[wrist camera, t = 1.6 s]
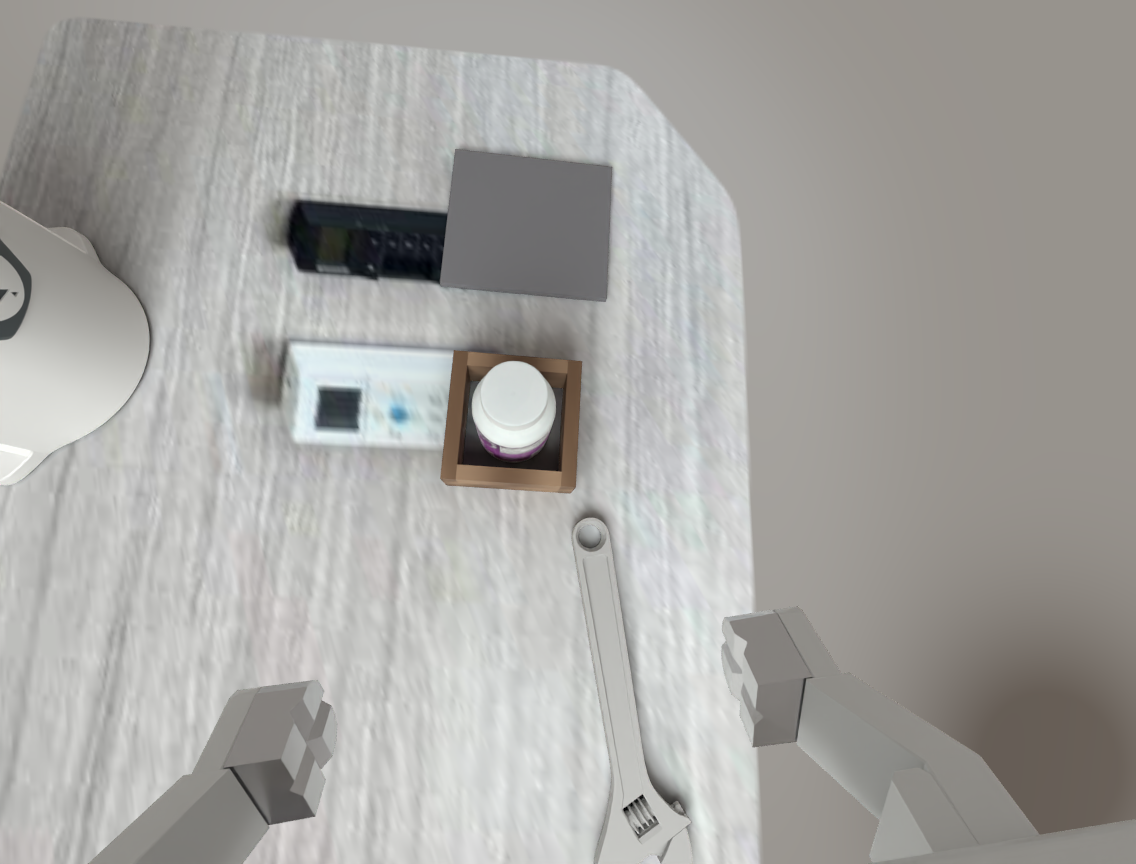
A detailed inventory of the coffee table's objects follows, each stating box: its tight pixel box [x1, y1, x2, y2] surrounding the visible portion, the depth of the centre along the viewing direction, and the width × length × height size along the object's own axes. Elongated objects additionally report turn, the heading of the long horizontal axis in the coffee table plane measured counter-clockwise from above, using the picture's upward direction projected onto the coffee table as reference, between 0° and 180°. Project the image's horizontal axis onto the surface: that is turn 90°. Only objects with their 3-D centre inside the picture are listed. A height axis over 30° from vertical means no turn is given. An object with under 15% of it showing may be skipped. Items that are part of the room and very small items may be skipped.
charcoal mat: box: [440, 149, 612, 302], centre depth 45 cm, size 13×12×1 cm
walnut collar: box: [440, 350, 582, 493], centre depth 40 cm, size 9×9×4 cm
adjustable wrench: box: [572, 518, 693, 864], centre depth 38 cm, size 25×6×2 cm, turn 4°
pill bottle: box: [472, 361, 556, 463], centre depth 37 cm, size 5×5×10 cm
